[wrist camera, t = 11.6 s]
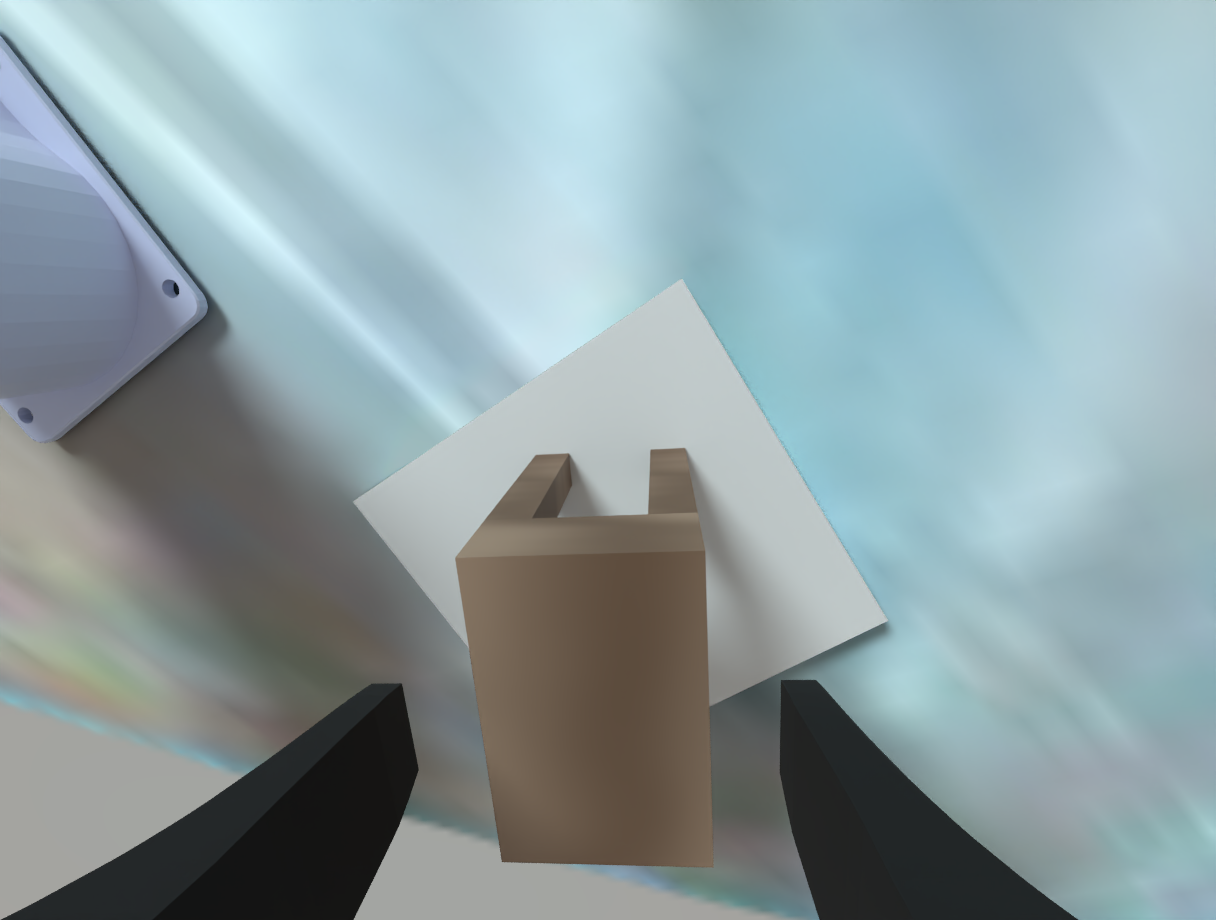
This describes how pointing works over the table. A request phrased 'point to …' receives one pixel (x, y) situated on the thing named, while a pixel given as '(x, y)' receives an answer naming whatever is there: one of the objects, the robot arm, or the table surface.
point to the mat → (647, 488)
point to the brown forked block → (593, 671)
